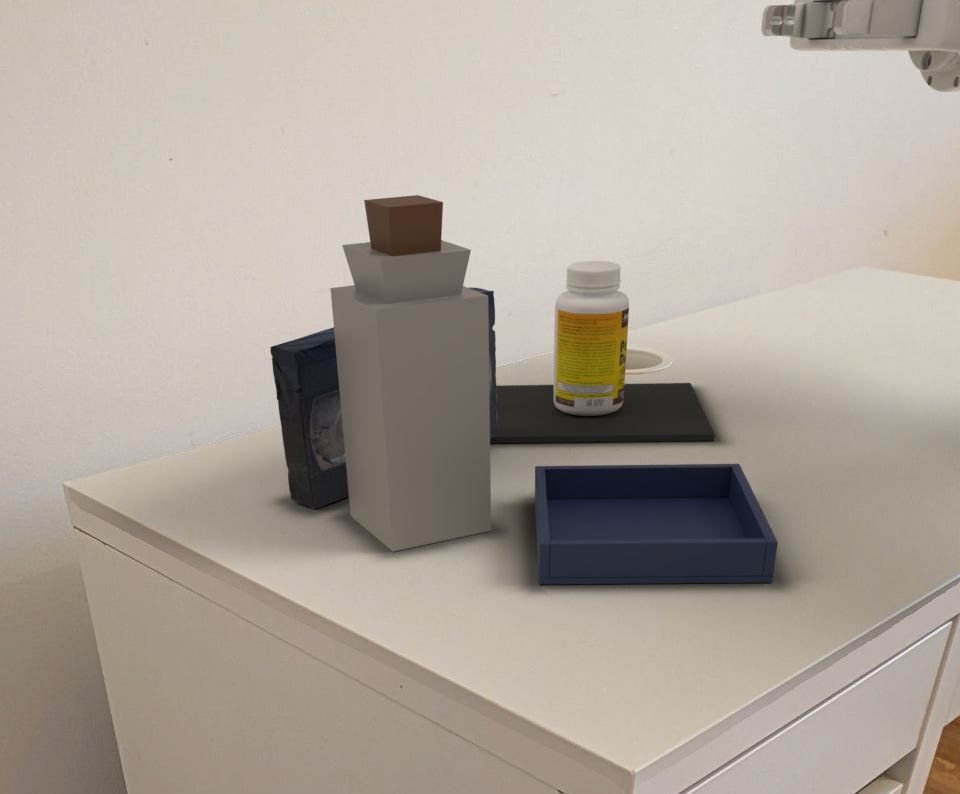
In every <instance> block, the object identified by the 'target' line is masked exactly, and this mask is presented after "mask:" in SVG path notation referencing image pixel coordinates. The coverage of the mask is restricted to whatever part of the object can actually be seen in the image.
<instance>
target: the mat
mask: <svg viewBox="0 0 960 794" xmlns="http://www.w3.org/2000/svg"><path fill="white" fill-rule="evenodd" d="M553 393H554V384H519V385H518V384H515V385H514V384H513V385H509V384H508V385H507V384H506V385H505V384H504V385H496V394H497V406H496V408H497V432H496V435H495V437H492V438H490V444H550V443H551V444H555V443H557V444H558V443H559V444H560V443H564V444H565V443H632V442H633V443H637V442H642V443H644V442H648V443H649V442H713V441H715V437H716V435H715V432H714V430H713V428H712V426H711V423H710V421H709V420H708V417H707V415H706V413H705V410H704V409H703V407H702V404H701V402H700V400H699V398H698V396H697V394H696V392H695V389H694V387H693V385H692V383H691V382H667V383H665V382H661V383H660V382H658V383H657V382H656V383H651V382H650V383H625V385H624V400H623V404H622V406H621V407H620V409H618V410H617V411H615V412H613V413H610V414H607V415H601V416H576V415H570V414H567V413H564V412H562V411H560V410H558V409H557V408H556V406H555V404H554V396H553Z"/></svg>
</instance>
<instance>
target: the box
mask: <svg viewBox="0 0 960 794" xmlns="http://www.w3.org/2000/svg"><path fill="white" fill-rule="evenodd" d="M534 516H535V517H534V518H535V533H536V535H535V536H536V537H535V538H536V554H537V555H536V557H537V573H538V585H635V584H636V585H641V584H642V585H643V584H644V585H645V584H646V585H647V584H651V585H652V584H656V585H657V584H753V583H755V584H757V583H759V584H760V583H762V584H763V583H766V584H767V583H773V576H774V572H775V564H776V559H777V558H776V557H777V551H778V550H777V549H778V544H779V542H778V540H777V538H776V536H775V534H774V531H773V529H772V527H771V525H770V523H769V522H768V520H767V518H766V515H765V513H764V511H763V509H762V507H761V505H760V503H759V500H758V499H757V497H756V495H755V493H754V491H753V489H752V487H751V485H750V483H749V481H748V479H747V477H746V474H745V473H744V471H743V469H742V466H741V465H740V463H691V464H689V463H688V464H686V463H685V464H683V463H682V464H679V463H678V464H677V463H675V464H602V465H600V464H599V465H598V464H597V465H535V466H534Z"/></svg>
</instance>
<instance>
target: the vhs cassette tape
mask: <svg viewBox="0 0 960 794" xmlns="http://www.w3.org/2000/svg"><path fill="white" fill-rule="evenodd" d="M468 288H470V289H472V290H475V291H477V292H480V293H483V294H485V295H488V319H489V400H490V438H492V437H495V435H496V432H497V408H496V406H497V394H496V386H497V375H496V374H497V357H496V355H497V354H496V351H497V346H496V339H497V338H496V331H495V330H494V326H495V325H496V306H495V305H496V304H495V296H494V295H495V291H494V290H488V289H484V288H481V287H471V286H470V287H468ZM270 355H271V363H272V374H273V379H274V385H275V393H276V401H277V407H278V415H279V421H280V427H281V437H282V444H283V449H284V458H285V464H286V468H287V482H288V490H289V493H290V499H291V500H292V501H293V502H295V503H296V504H299V505H304V506H307V507H310V508H312V509H319V508H323V507H325V506H327V505H329V504H332V503H335V502H337V501H341V500H344V499H346V498H349V492H348V480H347V469H346V458H345V447H344V435H343V424H342V413H341V401H340V390H339V379H338V367H337V356H336V345H335V334H334V326H333V327H329V328H327V329H324V330H320V331H317V332H314V333H311V334H307V335H305V336H302V337H299V338H296V339H292V340H289V341H286V342H282V343H279V344H275V345H272V346H270Z"/></svg>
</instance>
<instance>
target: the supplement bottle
mask: <svg viewBox="0 0 960 794" xmlns="http://www.w3.org/2000/svg"><path fill="white" fill-rule="evenodd" d="M621 281H622V280H621V265H620V264H619V263H616V262H612V261H607V260H606V261H604V260H585V261H577V262H573V263H570V264H568V265H567V266H566V281H565V283H566V286H565V288H566V291H564V292H562V293H560V294H559V295H558V296H557V298H556V299H555V305H554V339H553V340H554V342H553V343H554V344H553V345H554V346H553V385H554V393H553V396H554V404H555V406H556V408H557V409H558V410H560V411H562V412H564V413H567V414H570V415H576V416H601V415H607V414H610V413H613V412H615V411H617V410H618V409H620V407H621V406H622V404H623V400H624V385H625V384H626V365H627V351H628V350H627V349H628V335H629V333H628V331H629V316H630V315H629V313H630V299H629V297H628V295H626V293H624V292H622V291H620V290H619V289H620V287H621Z"/></svg>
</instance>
